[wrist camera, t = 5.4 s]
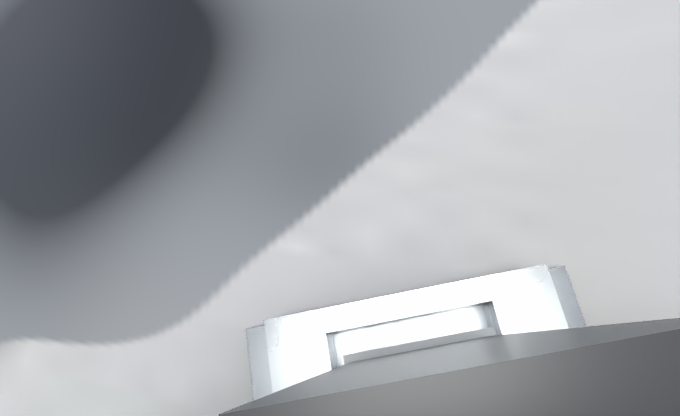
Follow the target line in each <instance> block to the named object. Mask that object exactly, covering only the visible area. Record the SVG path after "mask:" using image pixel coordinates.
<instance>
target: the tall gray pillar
mask: <svg viewBox="0 0 680 416" xmlns="http://www.w3.org/2000/svg"><path fill="white" fill-rule="evenodd" d="M343 359H344V365H343V366H340V367H338V368H335V369H333V370H330V371H328V372H325V373H323V374H320V375H318V376H315V377H312V378H310V379H307V380H305V381H302V382H300V383H297V384H295V385H292V386H290V387H287V388H285V389H282V390H280V391H277V392H275V393H272V394H270V395H267V396H264V397H262V398H259V399H257V400H254V401H252V402H249V403H247V404H244V405H242V406H239V407H237V408H234V409H232V410H229V411H227V412H224V413H221V414H219V416H680V318H675V319H664V320H653V321H643V322H632V323H622V324H611V325H600V326H590V327H579V328H568V329H558V330H547V331H537V332H526V333H515V334H505V335H496V334H495V330H494V327H489V328H484V329H478V330H473V331H467V332H462V333H457V334H452V335H447V336H441V337H436V338H431V339H426V340H420V341H415V342H410V343H405V344H399V345H394V346H389V347H384V348H379V349H373V350H368V351H363V352H358V353H353V354H348V355H343Z"/></svg>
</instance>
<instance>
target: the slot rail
mask: <svg viewBox="0 0 680 416" xmlns="http://www.w3.org/2000/svg"><path fill="white" fill-rule="evenodd" d="M489 327H494V330H495V334H496V335H505V334H515V333H526V332H537V331H547V330H558V329H568V328H579V327H586V324H585V321H584V318H583V316H582V313H581V310H580V307H579V304H578V302H577V299H576V296H575V293H574V290H573V287H572V285H571V282H570V279H569V276H568V273H567V271H566V268H565V266H560V267H555V268H550V269H548V266H547V264H543V265H538V266H533V267H528V268H523V269H518V270H513V271H508V272H503V273H498V274H493V275H488V276H483V277H478V278H473V279H468V280H463V281H458V282H452V283H447V284H442V285H437V286H432V287H427V288H422V289H417V290H412V291H407V292H402V293H397V294H392V295H387V296H382V297H377V298H372V299H367V300H362V301H357V302H352V303H347V304H342V305H337V306H332V307H327V308H322V309H317V310H312V311H307V312H302V313H297V314H292V315H287V316H282V317H276V318H271V319H266V320H264V325H262V326H257V327H252V328H247V329H246V336H247V345H248V354H249V364H250V373H251V383H252V392H253V401H254V400H257V399H259V398H262V397H264V396H267V395H270V394H272V393H275V392H277V391H280V390H282V389H285V388H287V387H290V386H292V385H295V384H297V383H300V382H302V381H305V380H307V379H310V378H312V377H315V376H318V375H320V374H323V373H325V372H328V371H330V370H333V369H335V368H338V367H340V366H343V365H344V359H343V355H348V354H353V353H358V352H363V351H368V350H373V349H379V348H384V347H389V346H394V345H399V344H405V343H410V342H415V341H420V340H426V339H431V338H436V337H441V336H447V335H452V334H457V333H462V332H467V331H473V330H478V329H484V328H489Z"/></svg>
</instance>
